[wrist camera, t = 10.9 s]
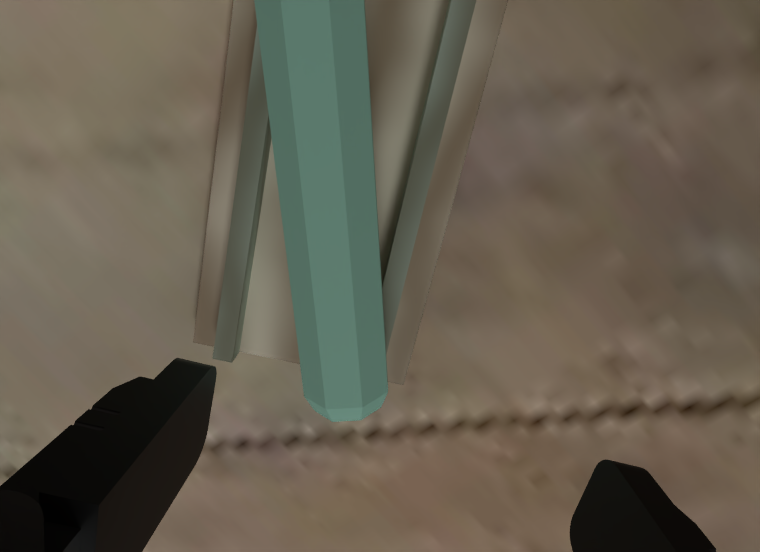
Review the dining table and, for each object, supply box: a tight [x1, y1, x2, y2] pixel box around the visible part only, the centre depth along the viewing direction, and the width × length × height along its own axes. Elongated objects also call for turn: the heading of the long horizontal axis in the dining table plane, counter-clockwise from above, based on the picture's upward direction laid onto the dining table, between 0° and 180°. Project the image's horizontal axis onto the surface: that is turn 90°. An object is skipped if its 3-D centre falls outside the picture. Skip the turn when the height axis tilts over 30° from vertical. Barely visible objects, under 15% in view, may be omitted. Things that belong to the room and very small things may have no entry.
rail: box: [193, 0, 508, 385], centre depth 26 cm, size 14×24×3 cm, turn 167°
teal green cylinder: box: [254, 0, 388, 422], centre depth 22 cm, size 6×6×25 cm
